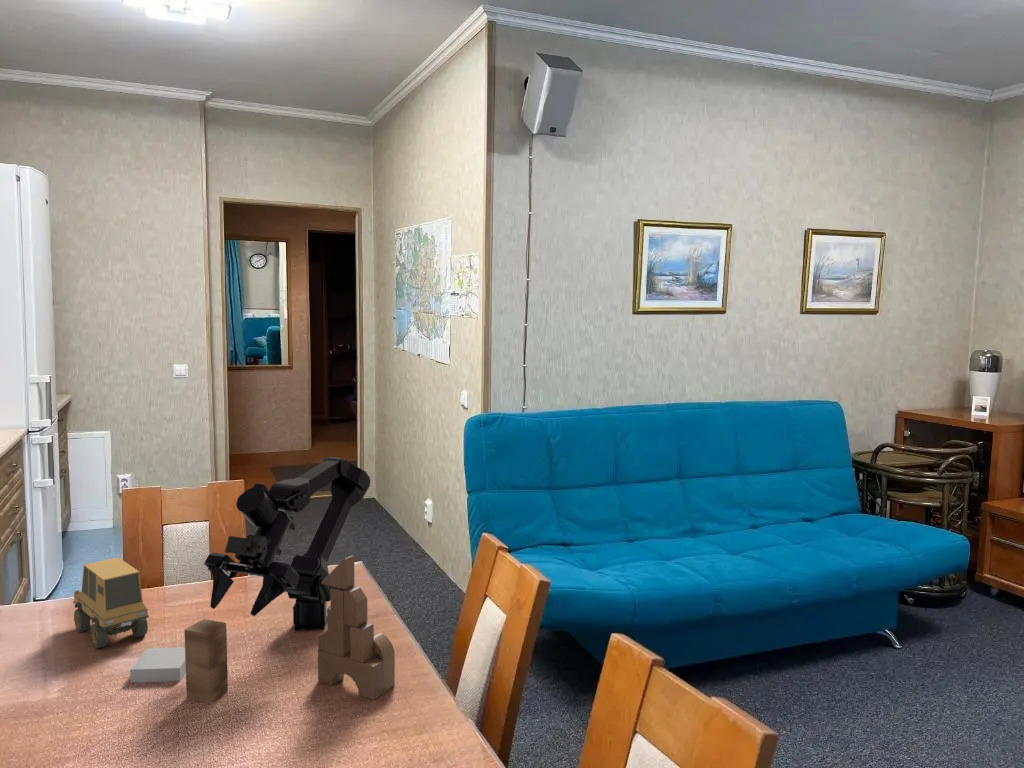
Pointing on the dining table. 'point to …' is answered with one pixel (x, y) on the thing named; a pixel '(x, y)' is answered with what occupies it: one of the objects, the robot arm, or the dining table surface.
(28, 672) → the dining table surface
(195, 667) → the walnut block
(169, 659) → the grey block
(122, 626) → the toy car
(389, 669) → the wooden toy
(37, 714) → the dining table surface
